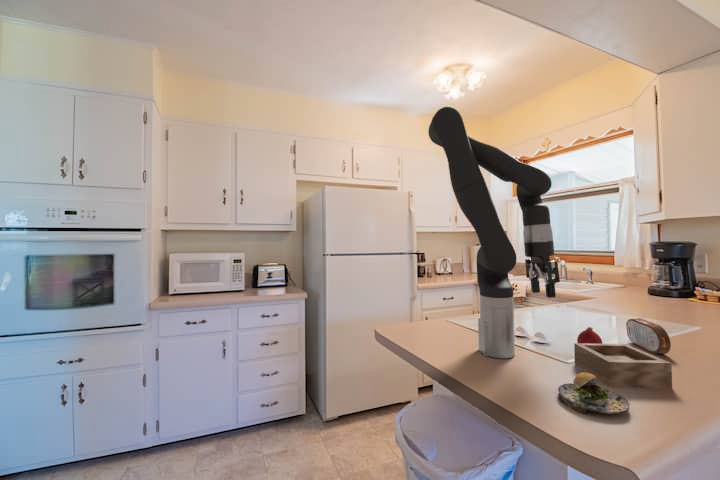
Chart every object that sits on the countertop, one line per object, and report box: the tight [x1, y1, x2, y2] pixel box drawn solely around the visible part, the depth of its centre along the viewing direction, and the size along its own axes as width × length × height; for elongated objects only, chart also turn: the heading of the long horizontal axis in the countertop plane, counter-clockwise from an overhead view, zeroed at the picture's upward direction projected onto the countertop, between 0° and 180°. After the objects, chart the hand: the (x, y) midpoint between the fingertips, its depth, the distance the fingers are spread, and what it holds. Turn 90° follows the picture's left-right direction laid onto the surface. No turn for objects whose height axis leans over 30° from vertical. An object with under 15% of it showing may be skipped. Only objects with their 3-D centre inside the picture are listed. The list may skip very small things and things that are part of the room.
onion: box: [576, 326, 603, 344], centre depth 89 cm, size 6×6×8 cm
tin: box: [625, 317, 672, 355], centre depth 93 cm, size 15×3×8 cm, turn 168°
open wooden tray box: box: [573, 342, 673, 390], centre depth 75 cm, size 13×13×6 cm
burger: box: [557, 365, 630, 415], centre depth 62 cm, size 12×12×8 cm
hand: (543, 294), depth 90 cm, fingers open, 8 cm apart
